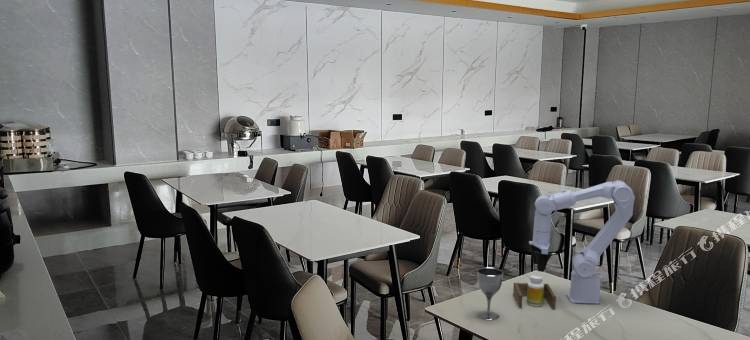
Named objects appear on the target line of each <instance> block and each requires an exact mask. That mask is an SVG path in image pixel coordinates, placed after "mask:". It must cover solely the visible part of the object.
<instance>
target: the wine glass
mask: <svg viewBox="0 0 750 340" xmlns="http://www.w3.org/2000/svg"><path fill="white" fill-rule="evenodd" d="M503 277H504V272H503V270H501V269H499V268H495V267H487V266H486V267H481V268H478V270H477V284H478V288H479V289H480V291H481V292H482V293H483V295H484V296H485V298H486V302H487V304H486V305H487V310H481V311H479V312H478V313H477V317H478V318H480V319H482V320H486V321H493V320H498V319H500V314H499V313H497V312H495V311H491V301H492V299H493V296H495V295H496V294H497V293H498V292H499V291H500V289H501V287H502V285H503V283H502V282H503Z"/></svg>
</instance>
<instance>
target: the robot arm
mask: <svg viewBox="0 0 750 340" xmlns="http://www.w3.org/2000/svg"><path fill="white" fill-rule="evenodd" d="M599 197H601V198H605V199H608V200H611V199H612V200H613V204H614V208H615V211H614V212H613V214H611V216H610V217H609V219H608V220H607V221H606V222H605V223H604V225H603V226H602V227H601V229H600V230H599V231H598V233H597V234H596V235H595V236H594V237H593V239H592V240H591V242H589V244H588V245H587V246H586V247H584V248H582V250H580V251H579V252H578V253H575V255H573V257H572V258H571V259H572V260H571V262H572V266H573V270H572V271H571V273H570V286H569V287H570V288H569V289H570V291H569V292H567V293H565V294H566V296H567V297H568V299H569V300H570V302H571V303H572V304H594V305H595V304H600V298H601V297H600V296H601V295H600V294H601V279H600V276H599V275H596V274H594V273H595V268H596V266H597V265H598V263H599V260H600V257H601V255H602V254H603V253H604V251H605V250H606V249H608V247H609V245H611V243H612V241H614V239H615V238H616V237H617V235H619V233H620V232H621V230H622V229H623V228H624V227H625V225H626V224H627V223H628V222H629V221H630V219H631V218H632V217H633V215H634V213H633V212H634V206H635V205H634V203H635V200H636V197H635V193H634V191H633V189H632V188H631V187H630V186H628V185H627V183H626V182H625V181H623V180H620V179H616V180H614V181H606V182H603V183H599V184H597V185H594V186H589V187H587V188H584V189H581V190H577V191H572V190H569V189H567V190H566V189H561V191H559V192H557V193H556V192H555V193H552V194H551V193H547V196H546V195H540V196H538V197H537V198H536V199H535V202H534V207H535V212H534V217H533V218H534V219H533V229H532V230H533V232H532V233H533V234H532V241H531V240H529V241H528V244H529V247H530V250H531V253H532V254H531V256H532V263H533V265H537V266H536V267H537V271H538V272H540V273H541V272H543V273H544V272H545V270H546V268H547V265H548V262H549V260H550V259H551V257H552V255H553V254H552V252H549V247H550V245H551V243H550V240H551V227H552V212H554V211H558V210H559V211H561V210H563V209H567V208H571V207H574V206H575V205H576V203H577V202H580V201H584V200H590V199H594V198H599Z"/></svg>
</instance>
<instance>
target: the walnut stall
mask: <svg viewBox="0 0 750 340" xmlns="http://www.w3.org/2000/svg"><path fill="white" fill-rule="evenodd" d="M543 284H544V295H543V298H545V300H546V301H547V302H548V304H549V306H550V308H551V309H552V310H556V303H557V302H556V301H557V297H556V295H555V292H554V291H553V290H552V288H551V286H550V285H549V283H543ZM527 289H528V282H513V292H512V294H513V298H514V300H515V302H516V305H517V307H518V309H523V297H527Z"/></svg>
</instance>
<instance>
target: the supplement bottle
mask: <svg viewBox="0 0 750 340" xmlns="http://www.w3.org/2000/svg"><path fill="white" fill-rule="evenodd" d="M527 283H528V289H527V296H526V303H527V305H529V306H530V307H531V306H532V307H541V306H543V304H544V297H543V295H544V284H545V283H544V282H543V276H542V275H538V274H531V275H530V276H529V281H528V282H527Z"/></svg>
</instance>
